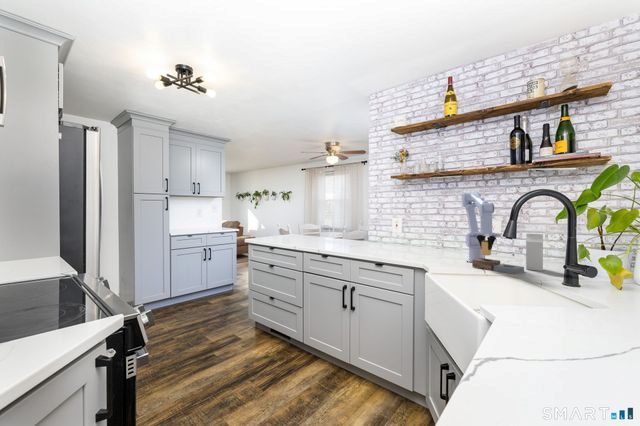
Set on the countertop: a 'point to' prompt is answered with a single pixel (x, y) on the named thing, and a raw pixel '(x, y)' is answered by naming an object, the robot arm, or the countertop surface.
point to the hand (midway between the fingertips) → (486, 249)
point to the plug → (485, 248)
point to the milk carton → (534, 252)
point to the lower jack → (509, 268)
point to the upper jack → (485, 263)
